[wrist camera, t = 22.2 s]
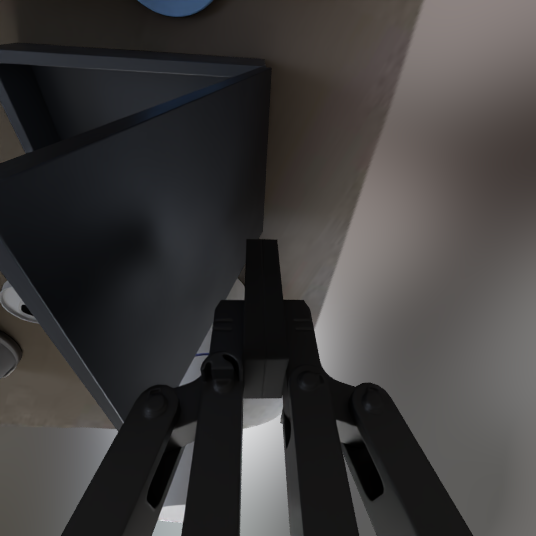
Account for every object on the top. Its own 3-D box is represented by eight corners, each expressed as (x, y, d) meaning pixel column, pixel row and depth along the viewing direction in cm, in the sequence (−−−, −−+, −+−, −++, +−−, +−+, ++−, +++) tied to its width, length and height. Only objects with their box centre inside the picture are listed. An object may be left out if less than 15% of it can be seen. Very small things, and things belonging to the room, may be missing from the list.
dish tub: (80, 198, 32) (58, 222, 28) (17, 42, 23) (-27, 47, 19) (258, 204, 33) (259, 227, 29) (264, 58, 24) (266, 66, 21)
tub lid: (128, 446, 14) (143, 452, 14) (-64, 185, 5) (-30, 193, 5) (255, 229, 29) (262, 231, 29) (260, 66, 20) (271, 67, 20)
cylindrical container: (206, 266, 39) (160, 501, 20) (253, 283, 41) (252, 508, 22) (188, 298, 43) (136, 520, 24) (233, 312, 45) (217, 524, 26)
